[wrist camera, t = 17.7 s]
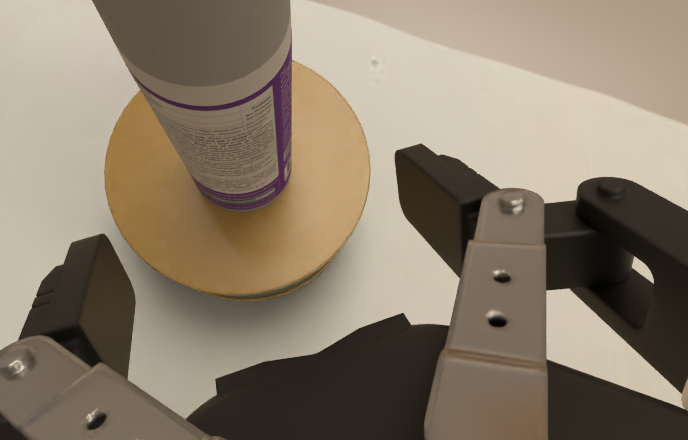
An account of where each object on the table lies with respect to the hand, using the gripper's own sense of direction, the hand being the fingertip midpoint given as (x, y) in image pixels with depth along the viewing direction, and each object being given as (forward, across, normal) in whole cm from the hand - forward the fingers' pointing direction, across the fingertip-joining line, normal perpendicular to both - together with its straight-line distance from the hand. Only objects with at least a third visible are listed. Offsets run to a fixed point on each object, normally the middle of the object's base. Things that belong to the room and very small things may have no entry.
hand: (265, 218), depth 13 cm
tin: (+15, 0, +7) cm, 16 cm away
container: (+10, 0, +3) cm, 11 cm away
